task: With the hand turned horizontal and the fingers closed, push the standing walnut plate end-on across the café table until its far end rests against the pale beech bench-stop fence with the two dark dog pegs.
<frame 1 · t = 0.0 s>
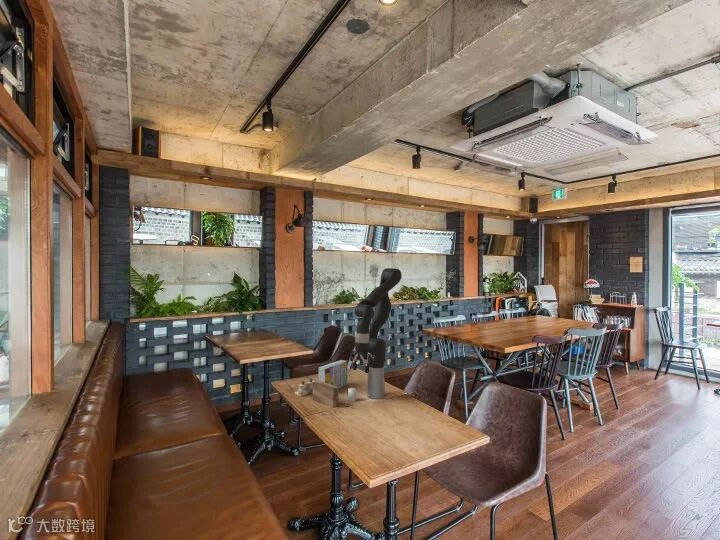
hand: (360, 371, 205), 17 cm above the table, tool pointing down, fingers open, 8 cm apart
bench stop: (303, 392, 220), on the table
white rounded piece: (352, 399, 209), on the table
snack box: (333, 389, 228), on the table
walnut plate: (325, 402, 205), on the table
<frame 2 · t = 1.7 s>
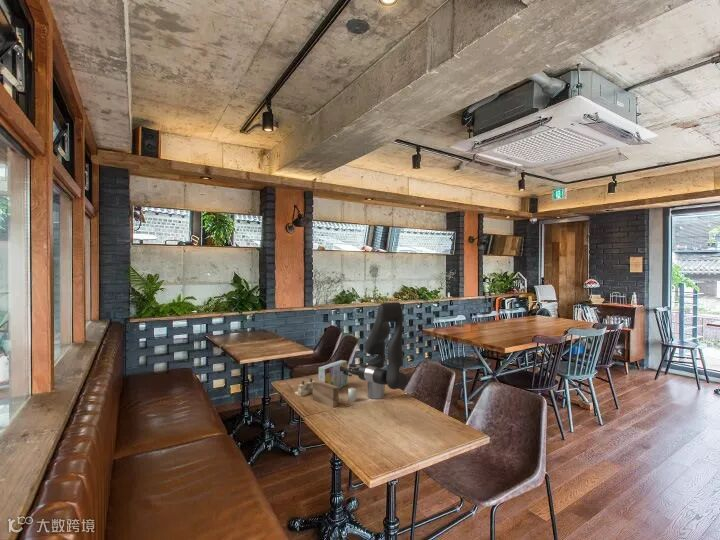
hand: (345, 367, 195), 22 cm above the table, tool horizontal, fingers open, 6 cm apart
nothing on the table moved.
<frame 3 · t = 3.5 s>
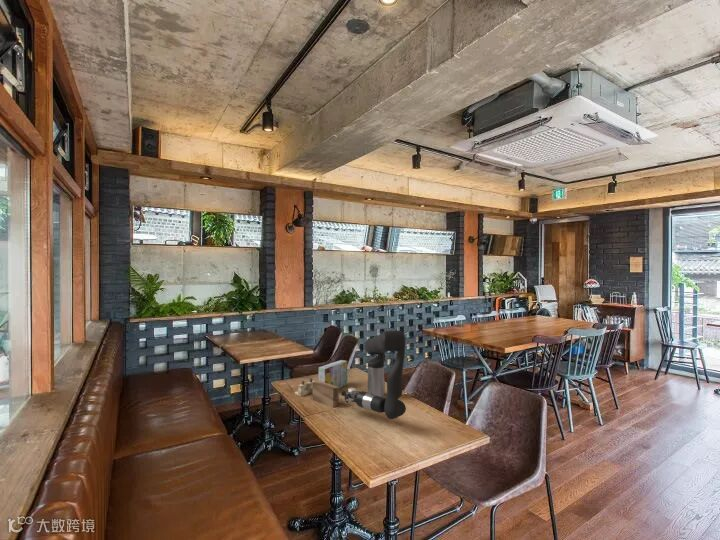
hand: (342, 392, 196), 8 cm above the table, tool horizontal, fingers closed
nothing on the table moved.
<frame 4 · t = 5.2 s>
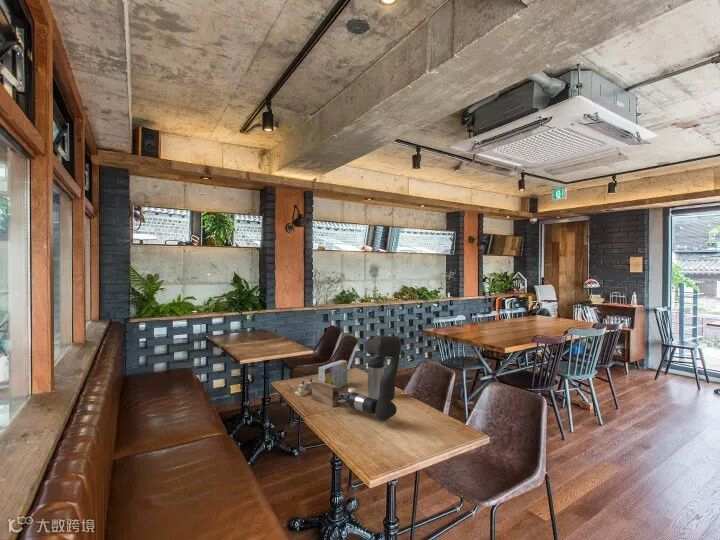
hand: (335, 393, 200), 7 cm above the table, tool horizontal, fingers closed
walnut plate: (324, 402, 205), on the table, touching gripper
everything else where it was.
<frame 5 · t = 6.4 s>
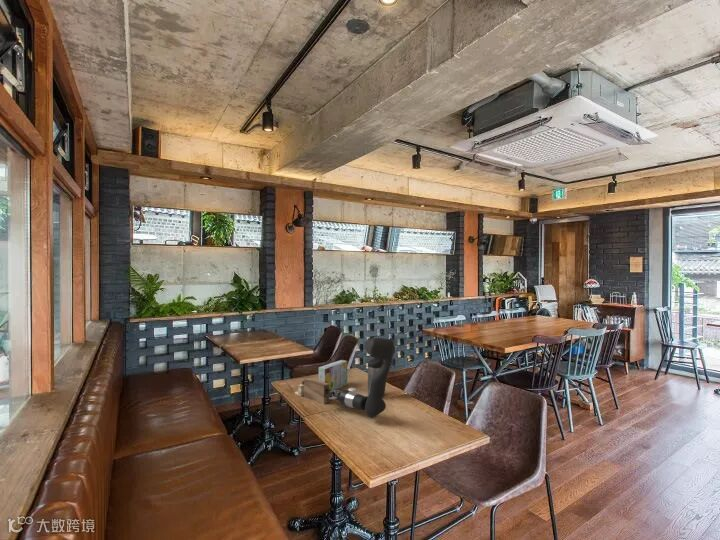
hand: (326, 391, 204), 7 cm above the table, tool horizontal, fingers closed
walnut plate: (316, 399, 209), on the table, touching gripper
everything else where it was.
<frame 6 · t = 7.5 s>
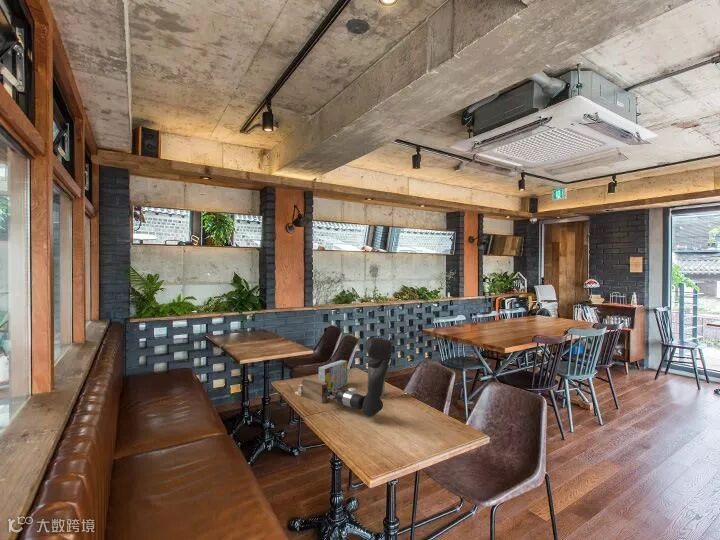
hand: (324, 390, 205), 7 cm above the table, tool horizontal, fingers closed
walnut plate: (314, 399, 210), on the table, touching gripper
everything else where it was.
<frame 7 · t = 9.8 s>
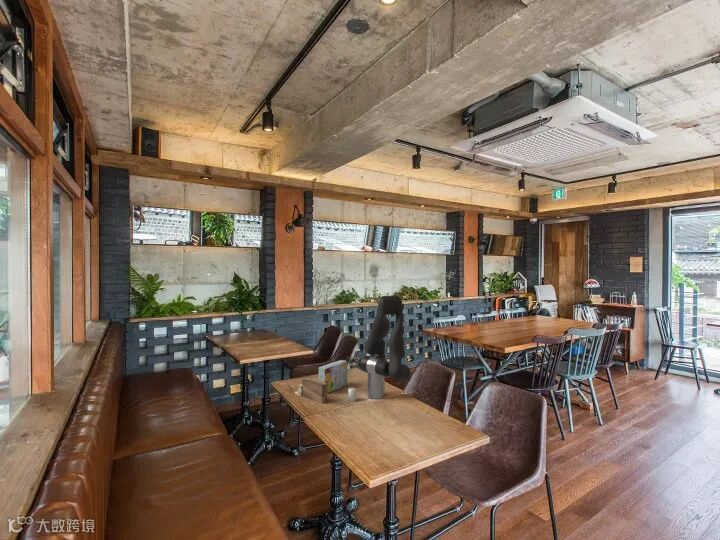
hand: (346, 358, 195), 26 cm above the table, tool horizontal, fingers closed
walnut plate: (314, 399, 210), on the table
everything else where it was.
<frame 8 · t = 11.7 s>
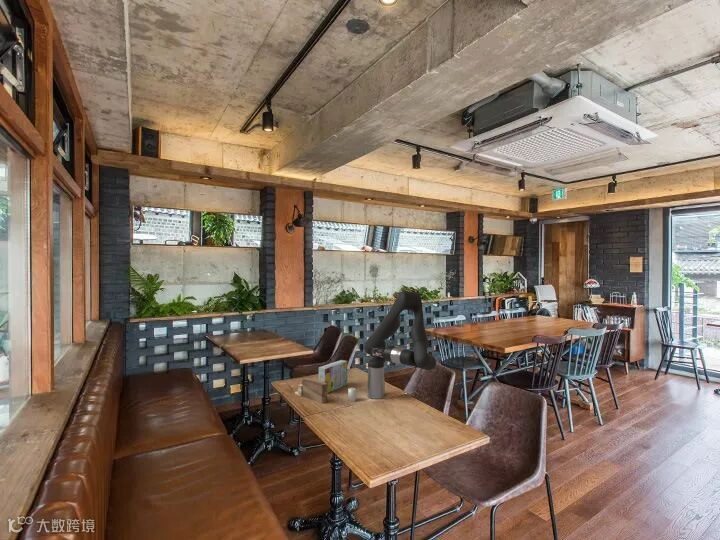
hand: (368, 349, 192), 32 cm above the table, tool horizontal, fingers closed
nothing on the table moved.
at the end: walnut plate inside the target area (0.2 cm from its centre), on the table; walnut plate tilted 0°; walnut plate moved 8.5 cm from its start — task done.
